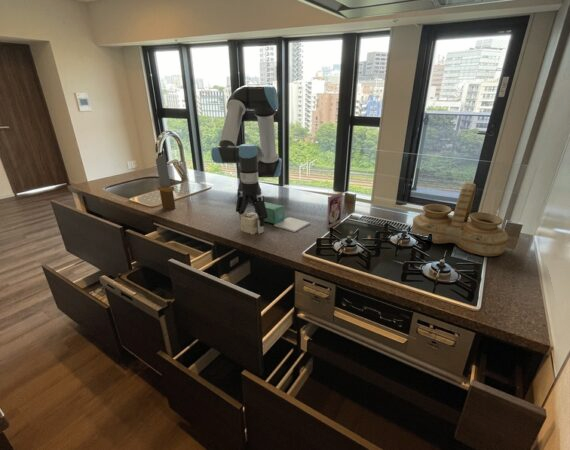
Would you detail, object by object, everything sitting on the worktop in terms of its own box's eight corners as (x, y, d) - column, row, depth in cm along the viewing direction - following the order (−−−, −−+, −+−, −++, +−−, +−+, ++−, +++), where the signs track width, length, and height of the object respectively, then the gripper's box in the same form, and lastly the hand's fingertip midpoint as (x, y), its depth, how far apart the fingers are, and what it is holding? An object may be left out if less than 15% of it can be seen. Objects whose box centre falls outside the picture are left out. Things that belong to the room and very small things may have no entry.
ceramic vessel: (404, 239, 125) (413, 181, 116) (417, 225, 139) (427, 172, 129) (501, 264, 106) (522, 197, 96) (506, 246, 119) (524, 185, 109)
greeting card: (328, 229, 135) (330, 197, 129) (315, 225, 140) (316, 194, 134) (342, 222, 143) (344, 192, 137) (329, 218, 148) (330, 189, 142)
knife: (177, 208, 164) (168, 153, 152) (171, 210, 161) (162, 154, 149) (166, 206, 167) (157, 151, 156) (161, 208, 164) (151, 153, 153)
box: (275, 224, 139) (274, 209, 136) (255, 219, 147) (253, 205, 144) (285, 220, 144) (284, 205, 141) (265, 215, 152) (264, 201, 150)
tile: (289, 218, 148) (289, 217, 148) (309, 224, 141) (309, 222, 141) (274, 226, 139) (274, 224, 139) (294, 232, 132) (294, 230, 132)
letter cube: (252, 226, 140) (251, 212, 137) (263, 229, 136) (262, 215, 133) (241, 230, 135) (240, 216, 132) (252, 234, 131) (251, 219, 128)
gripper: (225, 179, 130) (229, 226, 138) (263, 187, 117) (265, 238, 126) (237, 176, 135) (240, 221, 144) (275, 183, 123) (276, 233, 131)
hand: (252, 229), depth 135 cm, fingers open, 10 cm apart
